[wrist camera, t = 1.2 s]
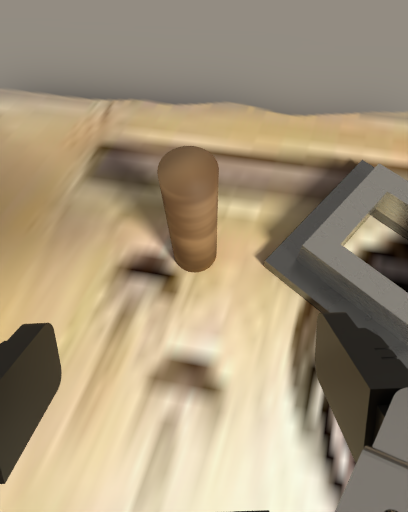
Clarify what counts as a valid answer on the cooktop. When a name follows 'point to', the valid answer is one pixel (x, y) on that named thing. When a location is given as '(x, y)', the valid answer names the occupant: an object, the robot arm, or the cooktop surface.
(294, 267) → the plate
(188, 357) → the cooktop surface
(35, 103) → the cooktop surface
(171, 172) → the dowel pin
